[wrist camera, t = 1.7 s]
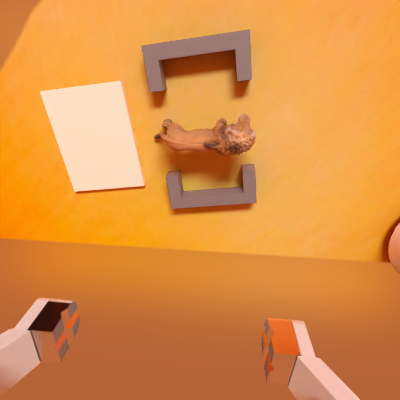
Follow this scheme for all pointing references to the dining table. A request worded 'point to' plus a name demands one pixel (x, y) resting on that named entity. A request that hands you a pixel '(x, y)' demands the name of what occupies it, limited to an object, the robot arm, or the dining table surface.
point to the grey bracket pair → (158, 83)
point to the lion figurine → (211, 137)
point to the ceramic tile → (95, 135)
